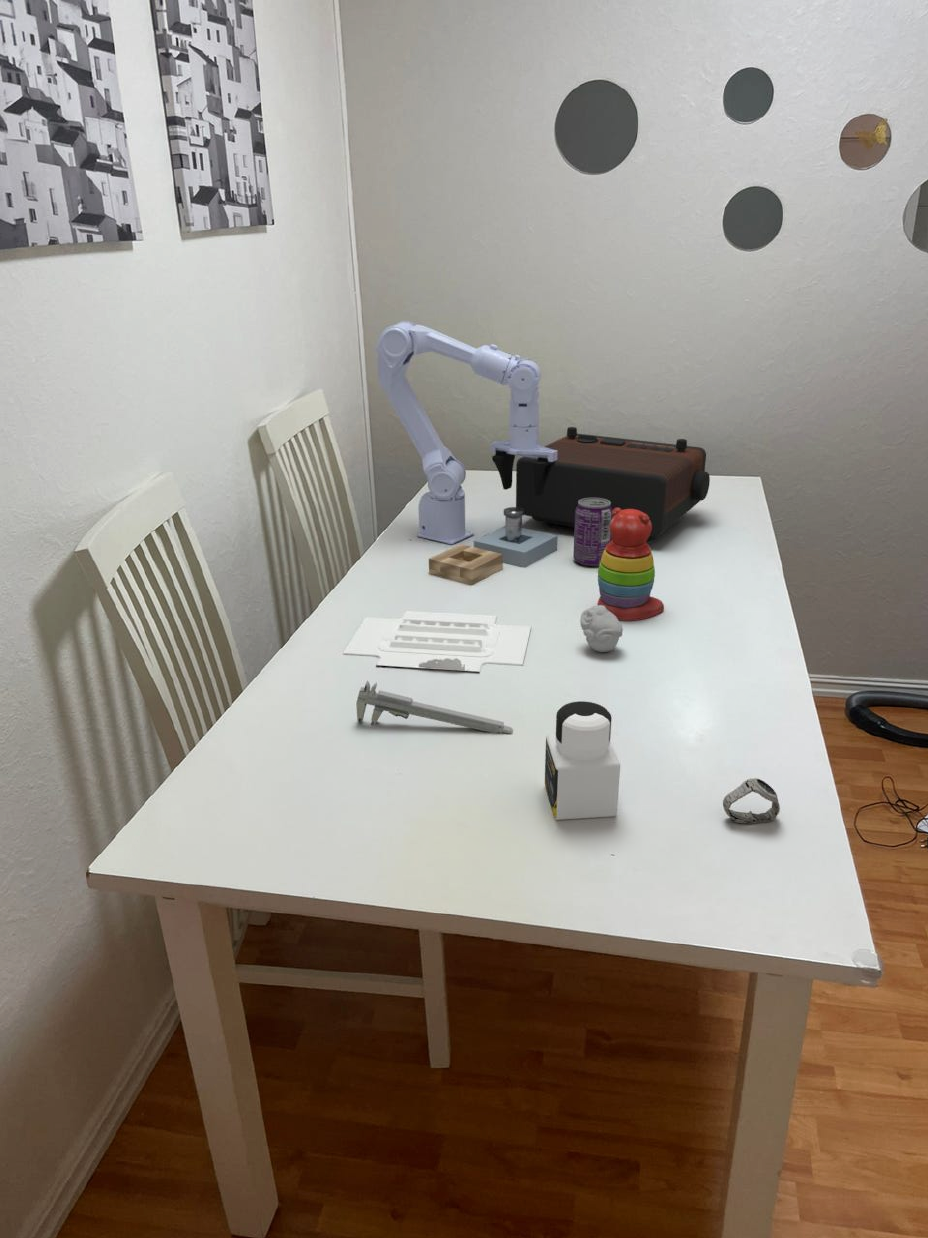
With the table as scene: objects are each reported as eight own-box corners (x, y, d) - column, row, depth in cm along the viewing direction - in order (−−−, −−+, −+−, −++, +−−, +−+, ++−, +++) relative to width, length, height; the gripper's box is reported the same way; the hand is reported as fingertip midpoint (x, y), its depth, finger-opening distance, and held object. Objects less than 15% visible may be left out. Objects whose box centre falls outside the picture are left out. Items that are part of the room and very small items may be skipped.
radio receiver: (711, 517, 198) (719, 437, 191) (670, 554, 177) (678, 465, 170) (566, 496, 215) (569, 421, 207) (514, 527, 194) (515, 445, 186)
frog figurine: (594, 637, 143) (596, 596, 140) (630, 650, 139) (633, 609, 136) (570, 649, 139) (572, 607, 136) (606, 663, 135) (609, 621, 132)
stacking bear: (668, 609, 153) (677, 508, 145) (635, 628, 146) (643, 523, 139) (615, 593, 159) (621, 496, 152) (581, 610, 153) (586, 510, 145)
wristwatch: (782, 827, 99) (788, 789, 96) (727, 830, 98) (732, 792, 96) (769, 808, 102) (775, 771, 100) (716, 811, 101) (720, 774, 99)
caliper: (357, 725, 120) (354, 683, 117) (359, 721, 121) (356, 679, 118) (512, 736, 117) (512, 693, 114) (513, 731, 118) (513, 689, 115)
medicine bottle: (544, 784, 106) (546, 696, 101) (603, 781, 107) (608, 692, 102) (554, 821, 100) (557, 729, 95) (617, 817, 100) (624, 725, 95)
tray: (370, 614, 154) (369, 594, 152) (532, 628, 150) (533, 608, 149) (336, 668, 136) (336, 646, 134) (520, 686, 132) (522, 664, 130)
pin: (499, 549, 178) (499, 510, 174) (510, 544, 181) (511, 505, 177) (515, 553, 176) (516, 514, 172) (527, 548, 178) (527, 509, 175)
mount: (429, 573, 169) (428, 558, 168) (460, 558, 176) (460, 543, 175) (471, 585, 164) (471, 569, 162) (502, 568, 171) (502, 554, 170)
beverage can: (609, 555, 177) (612, 496, 172) (610, 568, 170) (614, 508, 165) (572, 554, 177) (575, 496, 172) (573, 567, 171) (575, 507, 166)
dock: (473, 555, 178) (473, 540, 177) (507, 538, 187) (507, 524, 186) (524, 567, 171) (524, 552, 170) (557, 549, 180) (557, 535, 179)
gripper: (482, 423, 177) (482, 490, 183) (544, 432, 169) (542, 501, 175) (502, 417, 182) (502, 482, 188) (563, 425, 174) (561, 493, 180)
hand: (523, 491), depth 182 cm, fingers open, 7 cm apart
